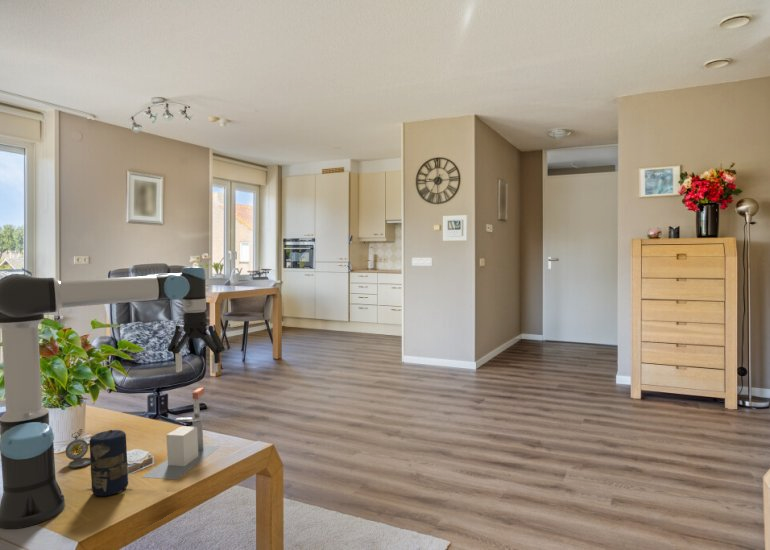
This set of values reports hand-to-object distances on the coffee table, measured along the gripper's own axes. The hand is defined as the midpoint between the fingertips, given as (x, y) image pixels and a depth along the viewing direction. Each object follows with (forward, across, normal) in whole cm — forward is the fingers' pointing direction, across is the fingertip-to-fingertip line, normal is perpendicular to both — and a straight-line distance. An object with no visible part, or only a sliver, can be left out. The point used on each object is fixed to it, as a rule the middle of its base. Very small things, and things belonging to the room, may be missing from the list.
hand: (197, 372), depth 176 cm
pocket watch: (+29, -36, -14) cm, 48 cm away
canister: (+29, -11, -30) cm, 43 cm away
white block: (+27, 0, -10) cm, 29 cm away
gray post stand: (+28, 0, -10) cm, 30 cm away
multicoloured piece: (+17, -3, 0) cm, 17 cm away
